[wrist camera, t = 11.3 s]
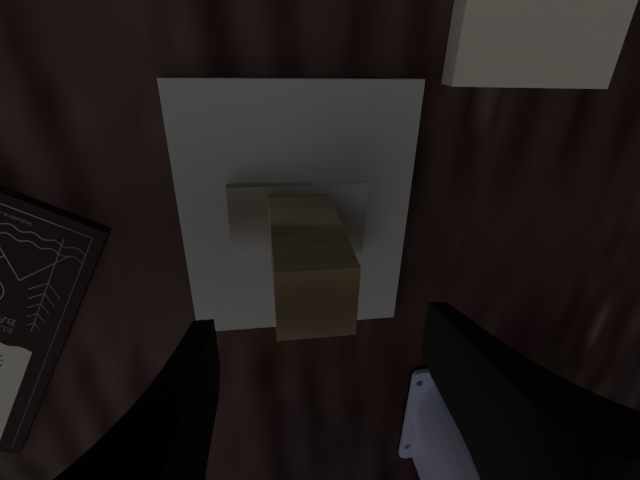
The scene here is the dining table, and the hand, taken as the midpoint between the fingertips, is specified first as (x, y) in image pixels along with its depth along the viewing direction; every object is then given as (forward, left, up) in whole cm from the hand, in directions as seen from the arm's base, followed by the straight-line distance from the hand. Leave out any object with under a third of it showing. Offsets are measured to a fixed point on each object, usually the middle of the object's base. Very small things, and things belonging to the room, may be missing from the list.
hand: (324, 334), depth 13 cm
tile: (+7, -11, -9) cm, 16 cm away
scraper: (0, 0, -9) cm, 9 cm away
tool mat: (0, 0, -9) cm, 9 cm away
